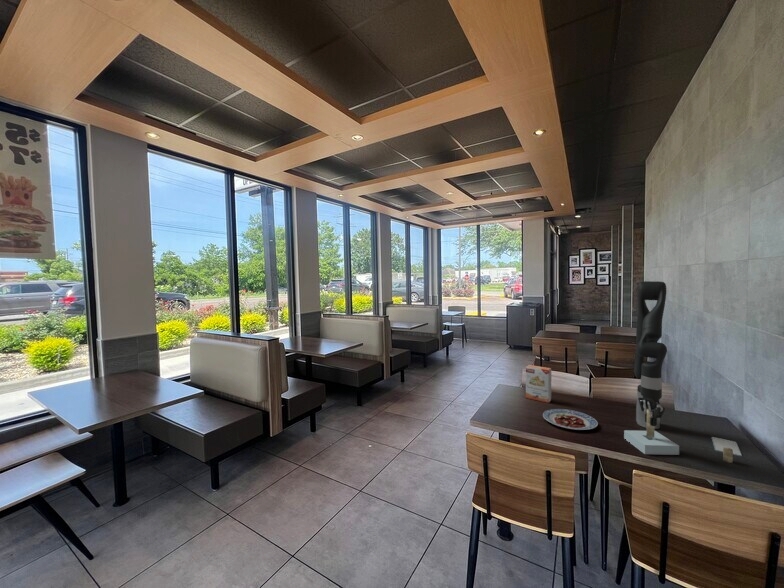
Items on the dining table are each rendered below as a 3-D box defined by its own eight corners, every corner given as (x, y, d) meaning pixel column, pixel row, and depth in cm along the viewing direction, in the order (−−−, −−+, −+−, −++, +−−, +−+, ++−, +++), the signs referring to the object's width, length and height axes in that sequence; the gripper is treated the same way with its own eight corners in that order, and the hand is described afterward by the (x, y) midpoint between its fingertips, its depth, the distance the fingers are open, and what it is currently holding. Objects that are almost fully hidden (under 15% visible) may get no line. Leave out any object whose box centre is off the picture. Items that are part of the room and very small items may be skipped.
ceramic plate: (606, 435, 159) (606, 429, 159) (550, 431, 164) (550, 425, 164) (586, 414, 184) (586, 409, 184) (537, 411, 189) (537, 406, 189)
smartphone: (715, 449, 143) (711, 436, 155) (715, 451, 143) (711, 438, 155) (742, 456, 138) (736, 441, 149) (742, 458, 138) (736, 443, 149)
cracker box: (525, 398, 210) (525, 366, 209) (528, 395, 214) (528, 364, 214) (548, 403, 201) (548, 369, 200) (551, 400, 205) (551, 367, 204)
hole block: (624, 438, 155) (624, 430, 155) (655, 439, 154) (655, 430, 154) (644, 454, 141) (644, 445, 141) (679, 454, 140) (679, 445, 140)
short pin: (721, 458, 137) (721, 447, 136) (728, 459, 136) (728, 447, 136) (727, 462, 134) (727, 450, 134) (734, 462, 134) (734, 450, 133)
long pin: (644, 434, 149) (645, 408, 148) (651, 434, 149) (651, 408, 148) (649, 437, 146) (649, 411, 146) (655, 437, 146) (656, 411, 145)
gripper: (632, 381, 154) (631, 417, 154) (653, 391, 140) (653, 430, 140) (648, 381, 153) (648, 417, 154) (672, 391, 139) (671, 431, 140)
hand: (650, 423), depth 147 cm, fingers closed on long pin, 2 cm apart
